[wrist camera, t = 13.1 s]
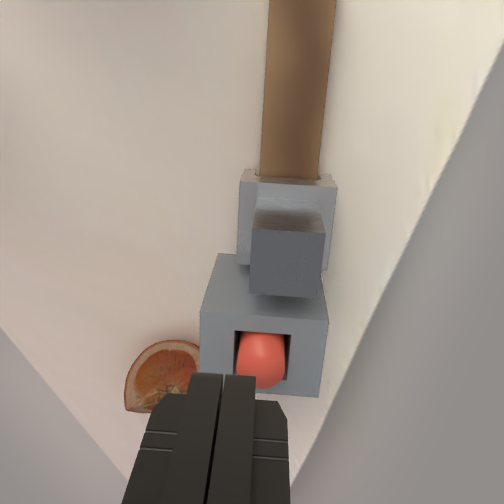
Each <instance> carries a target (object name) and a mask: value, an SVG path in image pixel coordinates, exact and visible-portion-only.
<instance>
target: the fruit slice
mask: <svg viewBox="0 0 504 504" xmlns="http://www.w3.org/2000/svg"><path fill="white" fill-rule="evenodd" d="M192 372H200V347H198V346H196V345H195V344H192V343H189V342H185V341H179V340H167V341H162V342H158V343H155V344H153V345H151V346H150V347H148V348H147V349H145V350H144V351H143V352H142V353H141V354H140V355H139V356H138V358H137V359H136V360H135V362H134V363H133V364H132V366H131V368H130V370H129V372H128V375H127V378H126V383H125V390H124V402H125V409H126V410H127V411H132V412H139V413H151V412H152V409H153V408H154V407H155V406H156V405H157V403H158V402H159V401H160V400H161V399H162V398H163V397H164V396H165V395H166V393H174V394H187V389H188V385H189V381H190V377H191V374H192Z"/></svg>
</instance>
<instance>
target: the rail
mask: <svg viewBox="0 0 504 504" xmlns="http://www.w3.org/2000/svg"><path fill="white" fill-rule="evenodd" d="M335 8H336V0H270V1H269V18H268V35H267V52H266V70H265V87H264V104H263V121H262V138H261V155H260V173H259V176H267V177H283V178H298V179H314V180H317V171H318V162H319V153H320V144H321V135H322V126H323V117H324V108H325V99H326V90H327V81H328V72H329V63H330V54H331V44H332V35H333V26H334V17H335Z"/></svg>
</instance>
